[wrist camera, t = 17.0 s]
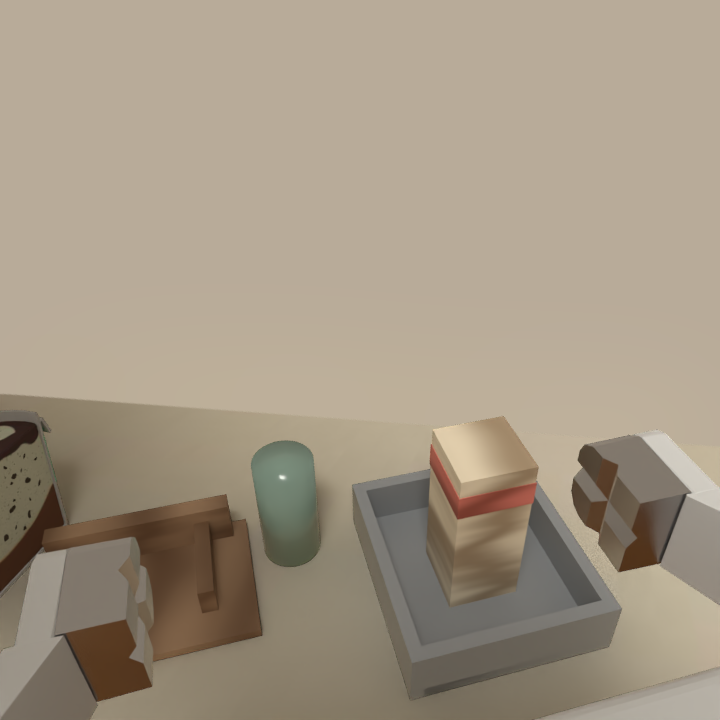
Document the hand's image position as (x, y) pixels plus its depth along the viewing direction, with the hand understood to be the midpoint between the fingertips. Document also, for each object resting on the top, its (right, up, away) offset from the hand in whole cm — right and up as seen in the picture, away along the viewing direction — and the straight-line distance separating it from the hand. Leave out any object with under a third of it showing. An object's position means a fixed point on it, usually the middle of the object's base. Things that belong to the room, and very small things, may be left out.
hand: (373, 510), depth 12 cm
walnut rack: (-14, -13, +31) cm, 36 cm away
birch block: (+7, -11, +31) cm, 34 cm away
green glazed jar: (-5, -10, +34) cm, 36 cm away
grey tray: (+7, -12, +32) cm, 35 cm away
